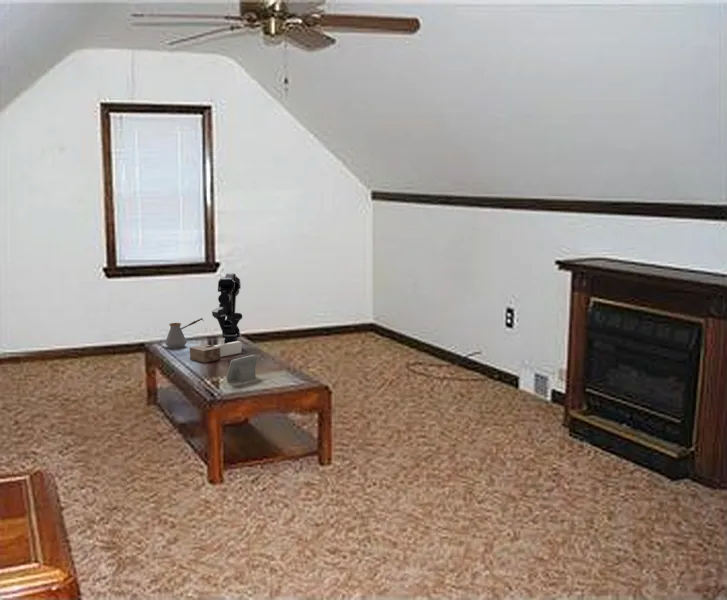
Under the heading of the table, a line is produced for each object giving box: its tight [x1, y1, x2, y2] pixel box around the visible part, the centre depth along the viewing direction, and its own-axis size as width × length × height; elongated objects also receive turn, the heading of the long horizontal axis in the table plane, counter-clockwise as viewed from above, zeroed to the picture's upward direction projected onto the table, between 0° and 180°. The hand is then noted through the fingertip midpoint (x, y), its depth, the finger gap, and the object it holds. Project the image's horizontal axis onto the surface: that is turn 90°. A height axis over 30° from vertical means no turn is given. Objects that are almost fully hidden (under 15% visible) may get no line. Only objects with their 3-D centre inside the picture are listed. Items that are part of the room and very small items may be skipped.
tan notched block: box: [189, 344, 221, 363], centre depth 405 cm, size 10×12×6 cm
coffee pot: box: [164, 317, 204, 349], centre depth 436 cm, size 21×12×15 cm, turn 113°
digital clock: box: [226, 354, 258, 383], centre depth 365 cm, size 16×9×11 cm, turn 130°
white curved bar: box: [212, 340, 242, 358], centre depth 414 cm, size 20×3×6 cm, turn 136°
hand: (227, 330), depth 417 cm, fingers open, 9 cm apart
